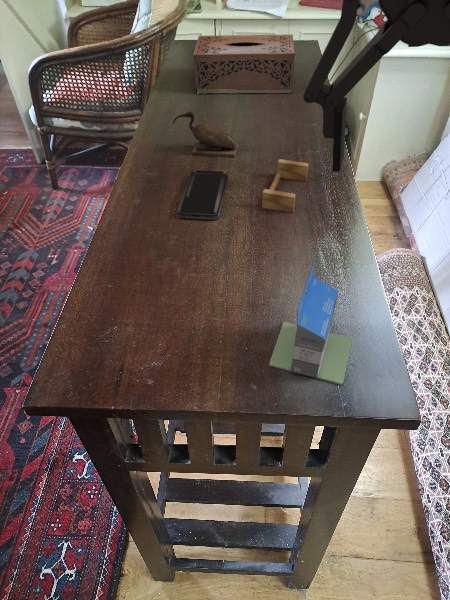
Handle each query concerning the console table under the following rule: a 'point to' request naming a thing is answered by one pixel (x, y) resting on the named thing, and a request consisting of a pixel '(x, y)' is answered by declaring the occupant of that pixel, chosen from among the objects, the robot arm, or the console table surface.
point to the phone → (203, 195)
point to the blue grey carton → (313, 326)
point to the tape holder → (283, 199)
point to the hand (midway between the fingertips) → (406, 168)
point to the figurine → (211, 140)
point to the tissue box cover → (244, 62)
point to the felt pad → (332, 359)
